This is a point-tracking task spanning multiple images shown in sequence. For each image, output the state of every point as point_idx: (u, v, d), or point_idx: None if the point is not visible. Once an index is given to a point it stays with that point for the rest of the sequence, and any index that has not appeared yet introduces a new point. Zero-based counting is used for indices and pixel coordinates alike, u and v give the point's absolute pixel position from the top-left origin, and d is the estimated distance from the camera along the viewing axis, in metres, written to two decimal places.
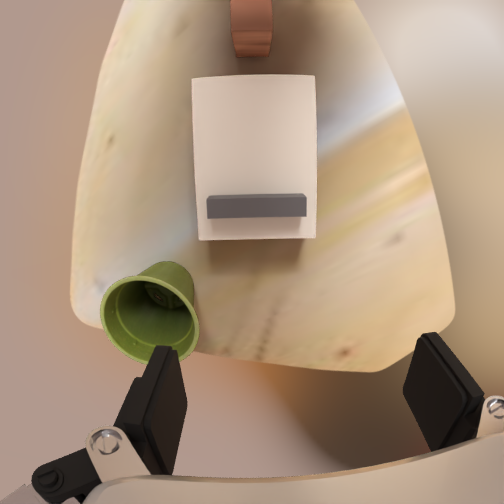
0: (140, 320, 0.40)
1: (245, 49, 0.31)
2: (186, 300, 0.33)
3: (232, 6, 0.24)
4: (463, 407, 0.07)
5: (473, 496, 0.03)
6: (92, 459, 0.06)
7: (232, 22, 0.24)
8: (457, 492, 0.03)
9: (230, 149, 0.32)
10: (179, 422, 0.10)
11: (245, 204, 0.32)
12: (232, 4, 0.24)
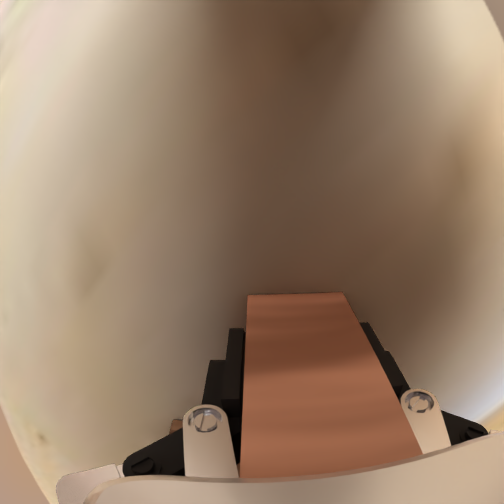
0: None
1: None
2: None
3: None
4: None
5: (473, 496, 0.03)
6: (184, 433, 0.07)
7: None
8: (457, 492, 0.03)
9: None
10: None
11: None
12: None
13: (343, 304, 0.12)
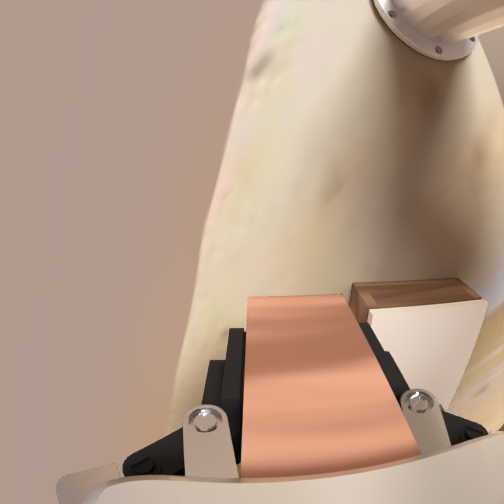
0: None
1: None
2: None
3: None
4: None
5: (473, 496, 0.03)
6: (184, 433, 0.07)
7: None
8: (457, 492, 0.03)
9: None
10: None
11: None
12: None
13: (343, 306, 0.12)
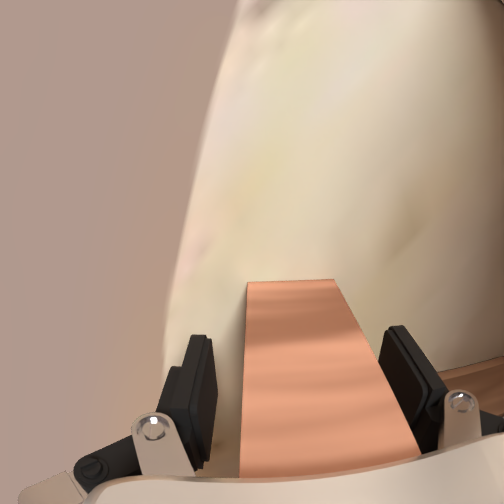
0: None
1: None
2: None
3: None
4: (424, 399, 0.08)
5: (473, 496, 0.03)
6: (135, 443, 0.07)
7: None
8: (457, 492, 0.03)
9: None
10: (213, 409, 0.11)
11: None
12: None
13: (334, 289, 0.14)
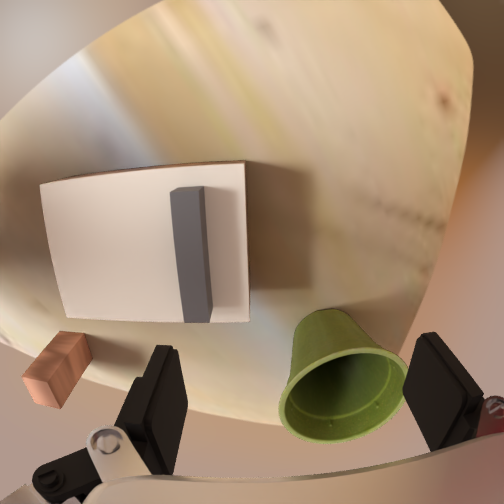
0: (356, 383, 0.30)
1: (79, 367, 0.33)
2: (317, 362, 0.23)
3: (41, 403, 0.27)
4: (462, 407, 0.07)
5: (473, 496, 0.03)
6: (93, 459, 0.06)
7: (53, 406, 0.27)
8: (457, 492, 0.03)
9: (131, 281, 0.26)
10: (180, 422, 0.10)
11: (186, 276, 0.23)
12: (39, 403, 0.27)
13: None
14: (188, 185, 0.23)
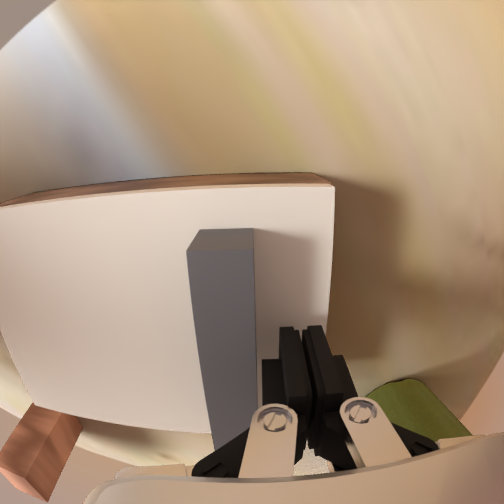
0: None
1: (66, 445, 0.21)
2: None
3: (22, 490, 0.15)
4: (322, 403, 0.08)
5: (473, 496, 0.03)
6: (251, 428, 0.07)
7: None
8: (457, 492, 0.03)
9: (122, 378, 0.14)
10: None
11: (221, 399, 0.11)
12: None
13: None
14: (221, 226, 0.12)
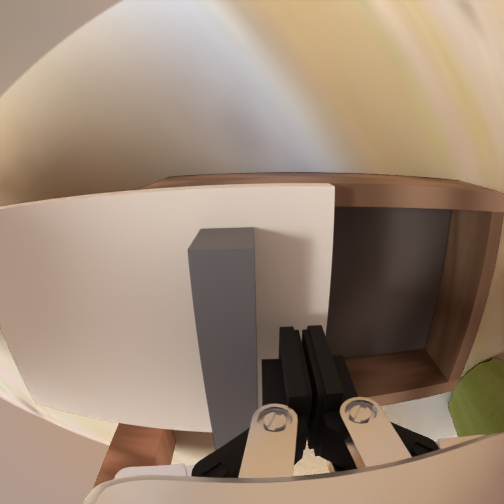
0: None
1: (166, 464, 0.21)
2: None
3: None
4: (322, 403, 0.08)
5: (473, 496, 0.03)
6: (251, 428, 0.07)
7: None
8: (457, 492, 0.03)
9: (123, 377, 0.14)
10: None
11: (222, 398, 0.11)
12: None
13: None
14: (222, 225, 0.12)
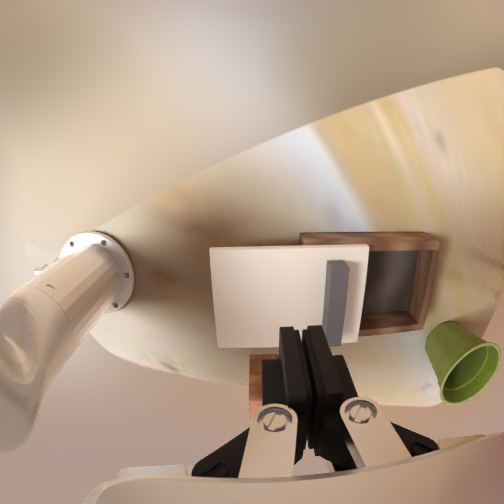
0: (463, 367, 0.42)
1: None
2: (467, 353, 0.34)
3: None
4: (322, 403, 0.08)
5: (473, 496, 0.03)
6: (251, 428, 0.07)
7: None
8: (457, 492, 0.03)
9: (283, 320, 0.38)
10: None
11: (332, 318, 0.35)
12: None
13: None
14: (333, 259, 0.35)
